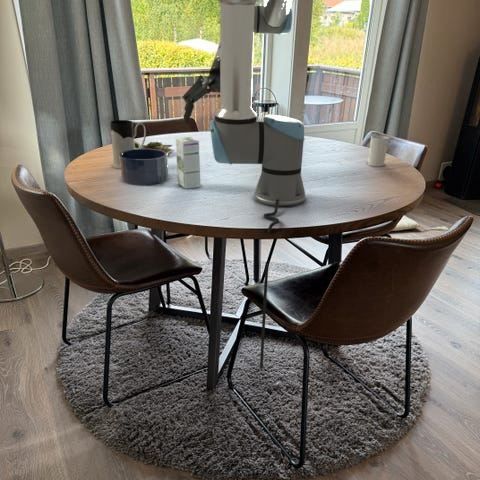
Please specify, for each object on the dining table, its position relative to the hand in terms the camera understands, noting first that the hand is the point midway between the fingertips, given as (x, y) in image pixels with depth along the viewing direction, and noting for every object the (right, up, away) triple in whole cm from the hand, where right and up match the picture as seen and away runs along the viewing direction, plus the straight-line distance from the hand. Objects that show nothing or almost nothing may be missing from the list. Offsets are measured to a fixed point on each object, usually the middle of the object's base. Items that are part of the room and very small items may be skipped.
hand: (204, 121), depth 160 cm
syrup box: (-5, -21, 0) cm, 21 cm away
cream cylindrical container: (+64, -5, +29) cm, 70 cm away
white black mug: (-28, -7, +21) cm, 36 cm away
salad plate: (-25, +2, +36) cm, 44 cm away
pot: (-20, -17, +6) cm, 27 cm away
